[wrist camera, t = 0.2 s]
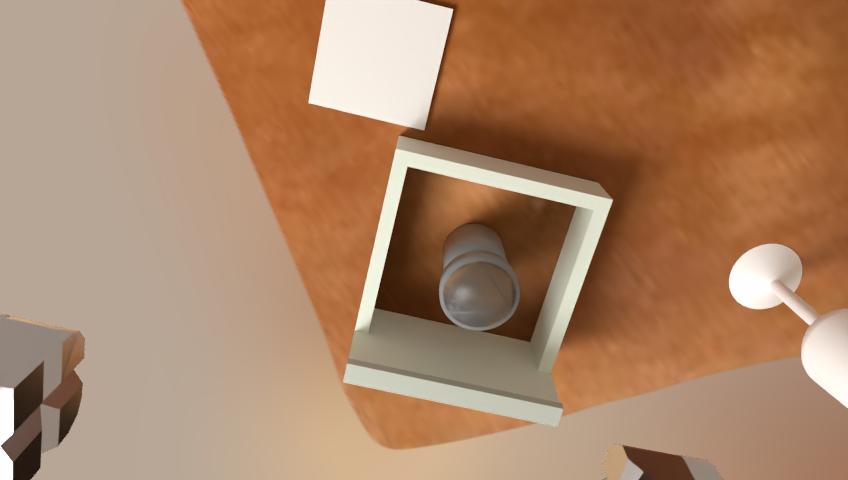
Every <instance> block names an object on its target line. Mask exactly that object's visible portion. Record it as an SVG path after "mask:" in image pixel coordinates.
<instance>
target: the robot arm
mask: <svg viewBox="0 0 848 480" xmlns="http://www.w3.org/2000/svg"><path fill="white" fill-rule="evenodd" d="M84 343H85V338H84V337H83V335H82V334H81V333H80V331H75V330H71V329H67V328H62V327H58V326H53V325H49V324H45V323H41V322H36V321H32V320H27V319H23V318H19V317H14V316H9V315H6V314H0V480H30V479H32V477H33V476H34V475H35V474H36V473H37V471H38V470H39V469H40V465H41V453H44V452H46V451H48V450H51V449H53V448H55V447H58V445H59V444H60V443H61V442H62V441H63V439H64V438H65V437H66V435H67V434H68V433H69V431H70V429H71V427H72V425H73V423H74V421H75V418H76V416H77V414H78V411H79V407H80V403H81V398H82V386H83V383H82V382H81V380H80V379H79V377H78V375H77V374H76V373H75V371H74V368H75V367H76V366H77V365H78V364H79V363H80V362H81V361H82V360H83V359H84V345H85V344H84ZM602 465H603V468H604V470H605V473H606V476H607V477H606V478H605V479H603V480H723V479H722V477H721V475H720V474H719V472H718V470H717V469H716V467H715V465H713V464H712V463H711V462H709V461H708V460H704V459H699V458H693V457H687V456H682V455H672V454H667V453H662V452H657V451H651V450H646V449H641V448H636V447H630V446H625V445H620V444H613V446H612V447H611V448H610V449H609V450H608V452H607V454H606V456H605V459H604V461H603V463H602Z"/></svg>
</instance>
